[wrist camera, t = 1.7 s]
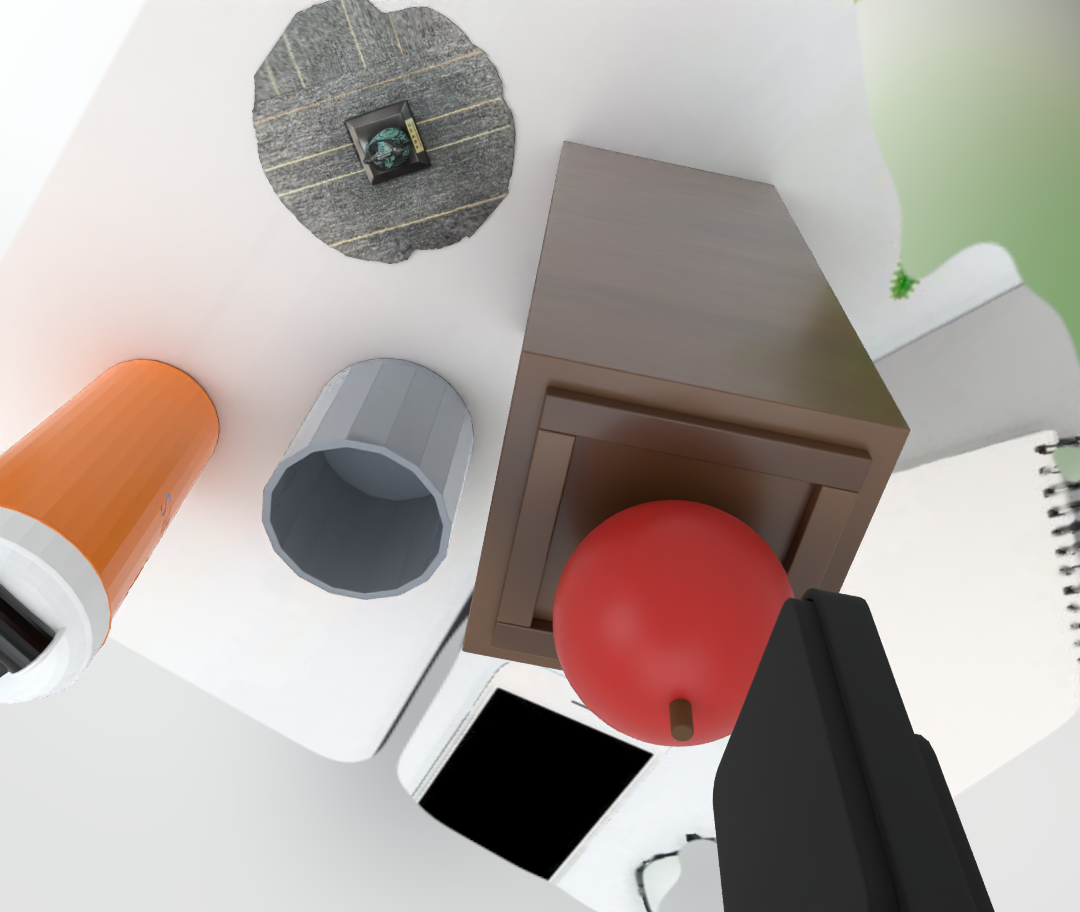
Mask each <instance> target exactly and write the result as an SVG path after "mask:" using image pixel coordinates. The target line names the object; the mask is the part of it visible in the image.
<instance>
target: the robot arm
mask: <svg viewBox="0 0 1080 912" xmlns="http://www.w3.org/2000/svg"><path fill="white" fill-rule="evenodd" d="M713 810H714V820H715V829H716V839H717V848H718V857H719V867H720V876H721V886H722V895H723V904H724V912H994V909H993V906H992V904H991V901H990V898H989V896H988V893H987V890H986V888H985V885H984V882H983V879H982V877H981V874H980V872H979V869H978V866H977V863H976V861H975V858H974V856H973V853H972V850H971V848H970V845H969V842H968V839H967V837H966V834H965V832H964V829H963V826H962V823H961V821H960V818H959V815H958V813H957V810H956V807H955V805H954V802H953V799H952V797H951V794H950V791H949V789H948V786H947V783H946V781H945V778H944V775H943V773H942V770H941V767H940V765H939V762H938V759H937V757H936V754H935V752H934V750H933V748H932V747H931V745H930V743H929V741H927V740H926V739H925V738H924V737H923V736H921V735H918V734H914V732H913V729H912V726H911V723H910V721H909V718H908V715H907V712H906V709H905V707H904V704H903V701H902V698H901V696H900V693H899V690H898V687H897V684H896V682H895V679H894V676H893V673H892V670H891V668H890V665H889V662H888V659H887V656H886V654H885V651H884V648H883V645H882V642H881V640H880V637H879V634H878V631H877V628H876V626H875V623H874V620H873V617H872V614H871V612H870V609H869V606H868V604H867V602H866V601H865V600H864V599H863V598H861V597H856V596H851V595H846V594H841V593H836V592H830V591H825V590H820V589H815V588H810V589H808V590H807V591H806V592H805V593H804V594H803V596H802V598H801V600H800V599H795V598H788V599H787V600H786V601H785V602H784V604H783V606H782V608H781V610H780V613H779V615H778V618H777V620H776V623H775V625H774V628H773V630H772V633H771V635H770V638H769V641H768V643H767V646H766V648H765V651H764V653H763V656H762V658H761V661H760V663H759V666H758V668H757V671H756V673H755V676H754V678H753V681H752V683H751V686H750V689H749V691H748V694H747V696H746V699H745V701H744V704H743V706H742V709H741V711H740V714H739V716H738V719H737V721H736V724H735V726H734V729H733V731H732V734H731V736H730V739H729V742H728V744H727V747H726V749H725V752H724V754H723V757H722V759H721V762H720V764H719V767H718V770H717V773H716V777H715V781H714V788H713Z"/></svg>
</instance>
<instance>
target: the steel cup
mask: <svg viewBox="0 0 1080 912" xmlns="http://www.w3.org/2000/svg"><path fill="white" fill-rule="evenodd" d="M473 442H474V436H473V426H472V421H471V418H470V415H469V412H468V410H467V408H466V406H465V404H464V402H463V401H462V399H461V398H460V396H459V395H458V393H457V392H456V391H455V390H454V389H453V388H452V387H451V385H449V384H448V383H447V382H446V381H445V380H444V379H443V378H441V377H440V376H438V375H437V374H435V373H434V372H432V371H430V370H429V369H427V368H425V367H422V366H420V365H417V364H415V363H412V362H408V361H404V360H398V359H382V358H381V359H371V360H367V361H362V362H359V363H356V364H354V365H351V366H349V367H347V368H345V369H344V370H342V371H340V372H339V373H338V374H336V375H335V376H334V377H333V378H332V379H331V380H330V381H329V382H328V383H327V384H326V385H325V387H324V388H323V390H322V391H321V393H320V395H319V396H318V398H317V400H316V401H315V403H314V405H313V406H312V408H311V410H310V411H309V413H308V415H307V416H306V418H305V420H304V422H303V423H302V425H301V427H300V428H299V430H298V432H297V433H296V435H295V437H294V438H293V440H292V442H291V444H290V445H289V447H288V449H287V450H286V452H285V454H284V455H283V457H282V459H281V461H280V462H279V464H278V466H277V467H276V469H275V471H274V472H273V474H272V476H271V478H270V479H269V481H268V483H267V484H266V486H265V488H264V490H263V508H262V522H263V525H264V527H265V530H266V532H267V534H268V537H269V539H270V542H271V544H272V547H273V549H274V550H275V552H276V553H277V554H278V555H279V556H280V557H281V558H282V560H283V561H284V562H285V563H286V564H287V565H288V566H289V567H290V568H291V569H292V570H293V571H294V572H295V573H296V574H297V575H298V576H299V577H301V578H303V579H305V580H307V581H308V582H310V583H312V584H314V585H316V586H318V587H320V588H322V589H323V590H325V591H327V592H329V593H332V594H338V595H343V596H348V597H353V598H358V599H364V600H365V599H366V600H368V599H376V598H383V597H391V596H399V595H401V594H403V593H405V592H407V591H409V590H411V589H413V588H414V587H416V586H418V585H420V584H422V583H424V582H426V581H427V580H429V578H430V577H431V576H432V574H433V573H434V572H435V570H436V569H437V568H438V567H439V565H440V564H441V563H442V561H443V560H444V559H445V557H446V555H447V552H448V548H449V544H450V540H451V536H452V532H453V528H454V524H455V520H456V516H457V512H458V508H459V504H460V500H461V496H462V492H463V488H464V484H465V480H466V476H467V472H468V469H469V464H470V458H471V453H472V449H473Z"/></svg>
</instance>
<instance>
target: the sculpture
mask: <svg viewBox="0 0 1080 912" xmlns="http://www.w3.org/2000/svg"><path fill="white" fill-rule="evenodd" d="M254 79H255V102H254V109H253V111H252V112H253V125H254V128H255V129H256V138H257V139H258V140H259V141H258V143H257V145H258V153H259V154H260V155H259V159H260V162H261V164H262V168H263V171H264V172H265V174H266V177H267V178H268V180H269V183H270V184H271V185H272V187H273V190H274V192H275V193H276V194H277V195H278V197H279V198H280V200H281V201H282V203H283V204H284V205H285V206H286V208H288V209H289V210H290V211H291V212H292V213H293V214H294V215H295V216H296V218H297V220H298V221H300V222H301V223H302V224H303V225H304V226H305V227H306V228H307V229H309V230H310V231H311V232H312V234H314V235H315V236H316V237H317V238H319V239H320V240H322V241H323V242H324V243H326V244H327V245H329V246H330V247H333V248H335V249H337V250H338V251H340V252H341V253H343V254H344V255H346V256H349V257H353V258H358V259H363V260H367V261H369V260H372V261H381V262H385V263H389V264H392V263H398V262H399V261H403V260H408V257H409V255H410V253H411V252H412V251H413V250H414V249H421V250H423V249H425V250H427V249H435V248H437V249H440V248H442V247H444V246H448V245H452V244H453V243H456V242H458V241H460V240H461V238H463V237H465V236H467V237H469V238H470V237H471V236H472V234H473V233H474V232H475V231H476V230H477V229H478V228H479V226H480V225H481V224H482V223H483V222H484V221H485V219H486V218H487V217H488V216H489V215H490V214H491V212H492V211H493V210H494V209H495V208H496V207H497V205H498V204H499V203H500V202H501V201H502V199H503V198H504V197H505V196H506V195H507V194H508V190H507V187H508V180H509V178H510V177H511V174H512V165H513V161H512V159H513V157H514V140H515V132H514V121H513V117H512V114H511V112H510V110H509V109H508V107H507V106H506V104H505V102H504V101H503V99H502V96H501V93H502V83H501V80H500V79H499V77H498V75H497V71H496V68H495V67H494V66H492V64H491V62H490V61H489V60H488V58H487V55H486V54H485V53H484V52H483V51H482V50H480V49H479V48H478V47H476V46H474V45H472V44H471V43H470V41H469V39H468V38H467V36H466V35H464V33H463V32H462V31H461V30H460V29H459V28H458V27H457V26H456V25H455V24H454V23H452V22H451V21H450V20H449V19H447V18H446V17H444V16H443V15H441V14H439V13H437V12H435V11H434V10H433V9H430V8H427V7H420V8H416V7H413V8H408V9H404V10H401V11H397V12H390V13H389V14H384V13H380V12H379V11H378V10H377V9H376V8H375V7H374V6H373V5H372V4H370V3H369V2H368V1H367V0H330V1H328V2H324V3H323V4H319V5H313V6H312V7H311V8H310V9H307V10H306V11H305V12H302V11H301V12H298V13H297V14H296V15H295V17H294V18H293V20H292V21H291V23H290V24H289V26H288V27H287V29H286V30H285V32H284V33H283V34H282V36H281V37H280V39H279V40H278V42H277V43H276V45H275V46H274V48H273V49H272V51H271V52H270V54H269V55H268V57H267V58H266V60H265V61H264V63H263V64H262V66H261V67H260V69H259V70H258V71H257V73H256V74H255V76H254Z"/></svg>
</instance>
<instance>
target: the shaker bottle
mask: <svg viewBox="0 0 1080 912" xmlns="http://www.w3.org/2000/svg"><path fill="white" fill-rule="evenodd" d="M218 435H219V423H218V417H217V414H216V410H215V408H214V406H213V404H212V402H211V400H210V398H209V396H208V395H207V394H206V393H205V391H204V390H203V389H202V387H201V386H200V385H199V384H198V383H196V382H195V381H194V380H193V379H192V378H191V377H189V376H188V375H187V374H185V373H184V372H182V371H181V370H179V369H176V368H174V367H172V366H170V365H168V364H164V363H161V362H158V361H152V360H130V361H126V362H123V363H119V364H117V365H115V366H113V367H111V368H110V369H108V370H107V371H105V372H104V373H103V374H102V375H101V376H99V377H98V378H97V379H96V380H94V381H93V382H92V383H91V384H89V385H88V386H87V387H86V388H84V389H83V390H82V391H81V392H79V393H78V394H77V395H76V396H74V397H73V398H72V399H71V400H69V401H68V402H67V403H66V404H64V405H63V406H62V407H61V408H59V409H58V410H57V411H56V412H54V413H53V414H52V415H51V416H49V417H48V418H47V419H46V420H44V421H43V422H42V423H41V424H39V425H38V426H37V427H36V428H34V429H33V430H32V431H31V432H29V433H28V434H27V435H26V436H25V437H23V438H22V439H21V440H20V441H18V442H17V443H16V444H15V445H13V446H12V447H11V448H10V449H8V450H7V451H6V452H5V453H3V454H2V455H1V456H0V704H8V703H19V702H23V701H29V700H33V699H38V698H42V697H47V696H50V695H52V694H55V693H57V692H59V691H62V690H64V689H65V688H67V687H68V686H70V685H71V684H72V683H73V682H75V681H76V680H77V679H78V678H79V677H80V675H81V674H82V673H83V672H84V670H85V669H86V668H87V666H88V665H89V663H90V662H91V660H92V659H93V657H94V656H95V654H96V653H97V652H98V651H99V649H100V648H101V647H102V646H103V644H104V643H105V641H106V638H107V636H108V633H109V631H110V628H111V620H112V618H113V617H114V615H115V613H116V612H117V610H118V608H119V607H120V605H121V603H122V601H123V600H124V598H125V597H126V595H127V594H128V590H129V589H130V588H131V586H132V585H133V584H134V582H135V580H136V579H137V577H138V575H139V574H140V572H141V570H142V569H143V567H144V566H143V565H144V564H145V563H146V561H147V560H148V559H149V557H150V556H151V554H152V552H153V551H154V549H155V547H156V545H157V544H158V542H159V541H160V539H161V537H162V536H163V534H164V532H165V531H166V529H167V527H168V526H169V524H170V522H171V521H172V519H173V517H174V516H175V514H176V513H177V511H178V509H179V508H180V506H181V504H182V503H183V501H184V499H185V498H186V496H187V494H188V493H189V491H190V489H191V488H192V486H193V484H194V483H195V481H196V479H197V478H198V476H199V474H200V473H201V471H202V469H203V468H204V466H205V465H206V463H207V461H208V460H209V458H210V456H211V455H212V453H213V451H214V449H215V447H216V444H217V441H218Z"/></svg>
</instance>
